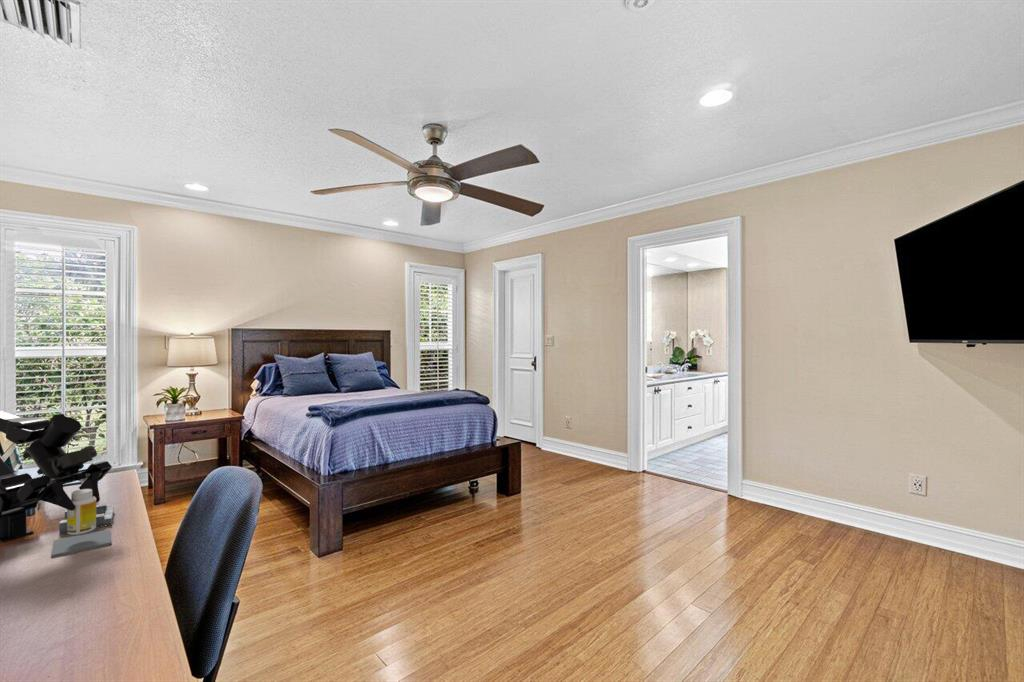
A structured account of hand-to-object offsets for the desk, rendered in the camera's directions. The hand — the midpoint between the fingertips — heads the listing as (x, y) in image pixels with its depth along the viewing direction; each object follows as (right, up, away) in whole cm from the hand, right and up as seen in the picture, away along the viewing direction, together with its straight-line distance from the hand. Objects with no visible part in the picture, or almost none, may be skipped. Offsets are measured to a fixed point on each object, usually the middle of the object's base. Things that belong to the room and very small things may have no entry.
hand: (86, 505), depth 121 cm
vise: (-11, -10, +12) cm, 19 cm away
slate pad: (-1, -10, 0) cm, 10 cm away
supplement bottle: (-1, -7, 0) cm, 7 cm away
